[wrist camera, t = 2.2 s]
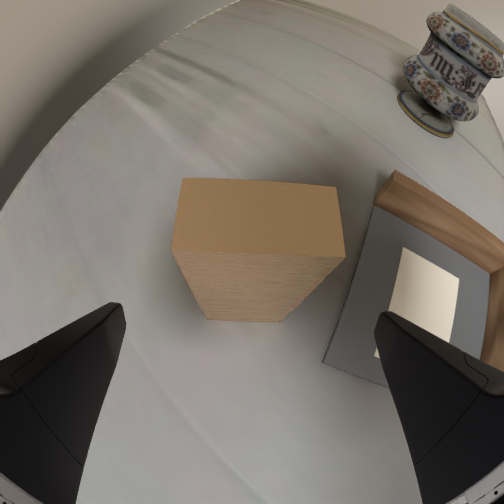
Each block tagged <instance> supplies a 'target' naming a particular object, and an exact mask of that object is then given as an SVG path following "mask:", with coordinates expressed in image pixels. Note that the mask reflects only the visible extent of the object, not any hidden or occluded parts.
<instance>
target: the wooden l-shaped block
mask: <svg viewBox="0 0 504 504" xmlns="http://www.w3.org/2000/svg"><path fill="white" fill-rule="evenodd" d="M171 251H172V253H173V255H174V257H175V259H176V261H177V263H178V265H179V267H180V269H181V271H182V273H183V275H184V277H185V279H186V281H187V283H188V285H189V287H190V289H191V291H192V293H193V295H194V296H195V298H196V300H197V302H198V304H199V306H200V308H201V310H202V311H203V313H204V315H205V317H206V319H207V320H225V321H252V322H281V321H282V320H283V319H284V318H285V317H286V316H287V315H288V314H289V313H290V312H292V311H293V310H294V309H295V308H296V307H297V306H298V305H299V304H300V303H301V302H302V301H303V300H304V299H305V298H306V297H307V296H308V295H309V294H310V293H311V292H312V291H313V290H314V289H315V288H316V287H317V286H318V285H319V284H320V283H321V282H322V281H323V280H324V279H325V278H326V277H327V276H328V275H329V274H330V273H331V272H332V271H333V270H334V269H335V268H336V267H337V266H338V265H339V264H340V263H341V262H342V261H343V260H344V259H345V258H346V255H345V246H344V238H343V230H342V223H341V216H340V209H339V202H338V196H337V190H336V187H331V186H321V185H311V184H300V183H288V182H274V181H258V180H239V179H213V178H183V179H182V185H181V190H180V195H179V201H178V207H177V213H176V219H175V225H174V232H173V239H172V246H171Z"/></svg>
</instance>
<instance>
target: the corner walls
mask: <svg viewBox="0 0 504 504" xmlns="http://www.w3.org/2000/svg"><path fill="white" fill-rule="evenodd" d="M374 205H376V206H377V207H379V208H381V209H383V210H385V211H387V212H389V213H391V214H393V215H394V216H396V217H398V218H400V219H402V220H404V221H405V222H407V223H409V224H411V225H412V226H414V227H416V228H418V229H419V230H421V231H423V232H425V233H426V234H428V235H430V236H431V237H433V238H435V239H436V240H438V241H440V242H441V243H443V244H445V245H446V246H448V247H449V248H451V249H453V250H454V251H456V252H457V253H459V254H460V255H462V256H464V257H465V258H467V259H468V260H470V261H471V262H473V263H474V264H476V265H477V266H479V267H480V268H481V269H483V270H484V271H486V272H487V273H489V274H490V282H489V297H488V309H487V318H486V326H485V333H484V339H483V345H482V351H481V356H480V360H481V361H483V362H485V363H487V364H489V365H491V366H493V367H495V368H497V369H499V370H501V371H503V372H504V243H503V242H502V241H501V240H500V239H498V238H497V237H496V236H495V235H493V234H492V233H491V232H489V231H488V230H487V229H485V228H484V227H483V226H482V225H480V224H479V223H477V222H476V221H475V220H473V219H472V218H471V217H469V216H468V215H466V214H465V213H464V212H462V211H461V210H459V209H458V208H456V207H455V206H453V205H452V204H450V203H449V202H447V201H446V200H444V199H443V198H441V197H440V196H438V195H436V194H435V193H433V192H432V191H430V190H428V189H427V188H425V187H423V186H422V185H420V184H418V183H417V182H415V181H413V180H412V179H410V178H408V177H406V176H405V175H403V174H401V173H399V172H397V171H396V170H394V172H393V173H392V174H391V176H390V177H389V179H388V180H387V181H386V183H385V184H384V186H383V187H382V188H381V190H380V191H379V192H378V194H377V195H376V197H375V201H374ZM374 205H373V206H374Z"/></svg>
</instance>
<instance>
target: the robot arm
mask: <svg viewBox="0 0 504 504" xmlns="http://www.w3.org/2000/svg"><path fill="white" fill-rule="evenodd" d="M125 330H126V321H125V316H124V311H123V307H122V305H121V304H120V303H114V302H110V303H108V304H106V305H104V306H102V307H100V308H98V309H96V310H94V311H93V312H91V313H89V314H87V315H85V316H83V317H81V318H80V319H78V320H76V321H74V322H72V323H70V324H68V325H67V326H65V327H63V328H61V329H59V330H57V331H56V332H54V333H52V334H50V335H48V336H47V337H45V338H43V339H41V340H39V341H38V342H37V343H34V344H32V345H30V346H28V347H27V348H25V349H23V350H21V351H19V352H17V353H15V354H13V355H11V356H9V357H7V358H5V359H3V360H0V504H76V499H77V495H78V490H79V486H80V481H81V477H82V473H83V469H84V468H83V467H84V465H85V461H86V457H87V454H88V450H89V446H90V443H91V439H92V436H93V433H94V429H95V426H96V423H97V420H98V417H99V414H100V410H101V407H102V404H103V401H104V398H105V396H106V393H107V390H108V387H109V384H110V381H111V379H112V376H113V373H114V370H115V367H116V365H117V361H118V357H119V353H120V349H121V345H122V341H123V338H124V334H125ZM374 338H375V342H376V346H377V349H378V353H379V357H380V361H381V365H382V368H383V371H384V374H385V377H386V380H387V383H388V386H389V388H390V391H391V394H392V397H393V400H394V403H395V406H396V409H397V412H398V415H399V418H400V421H401V424H402V427H403V430H404V434H405V437H406V440H407V444H408V447H409V450H410V454H411V457H412V461H413V465H414V469H415V473H416V477H417V481H418V485H419V489H420V493H421V497H422V502H423V504H449V503H451V502H453V501H455V500H457V499H458V498H460V497H462V496H465V499H466V501H467V503H466V504H504V372H503V371H501V370H499V369H497V368H495V367H493V366H491V365H489V364H487V363H485V362H483V361H481V360H479V359H477V358H475V357H473V356H471V355H470V354H468V353H466V352H464V351H463V352H462V350H461V349H459V348H457V347H455V346H453V345H452V344H450V343H448V342H446V341H445V340H443V339H441V338H439V337H437V336H436V335H434V334H432V333H430V332H428V331H427V330H425V329H423V328H421V327H419V326H418V325H416V324H414V323H412V322H410V321H408V320H407V319H405V318H403V317H401V316H399V315H397V314H396V313H394V312H392V311H384V312H381V313H380V315H379V317H378V320H377V323H376V326H375V329H374Z"/></svg>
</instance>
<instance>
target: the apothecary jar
mask: <svg viewBox="0 0 504 504" xmlns="http://www.w3.org/2000/svg"><path fill="white" fill-rule="evenodd" d="M427 26H428V28H429V30H430V31H431V34H430V36H429V38H428V40H427V42H426V44H425V46H424V47H423V49H422V51H421V53H420V54H419V55H415V56H411V57H409V58H408V59H407V60H406V61H405V63H404V73H405V76H406V78H407V80H408V82H409V83H410V85H411V86H412V88H413V89H414V90H415V91H416V92H417V93H415V92H412V91H402V92H400V93H399V94H398V102H399V104H400V106H401V107H402V109H403V110H404V111H405V112H406V114H407V115H408V116H409V117H410V118H411V119H412V120H414V121H415V122H416V123H417V124H418V125H420V126H421V127H422V128H424V129H426V130H427V131H429V132H430V133H432V134H434V135H437V136H439V137H443V138H449V137H451V136H452V135H453V133H454V128H453V126H452V124H451V122H450V118H452V119H455V120H459V121H470V120H472V119H474V118H475V117H476V116H477V114H478V109H479V108H478V102H477V99H478V97H479V96H480V94H481V93H482V91H483V89H484V88H485V87H486V85H487V84H488V82H489V81H490V79H491V78H501V77H503V76H504V59H503V54H504V52H503V51H504V43H503V42H502V41H501V40H500V39H499V38H498V37H497V36H495V35H494V34H493V33H492V32H491V31H490V30H488V29H487V28H486V27H485V26H483V25H482V24H481V23H479V22H478V21H477V20H475V19H474V18H473V17H471V16H470V15H468V14H467V13H465V12H464V11H462V10H461V9H459V8H457V7H456V6H454V5H453V4H449V5H448V6H447V8H446V9H445V10H444V11H443V12H435V13H431V14H430V15H429V16H428V17H427ZM449 117H450V118H449Z"/></svg>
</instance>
